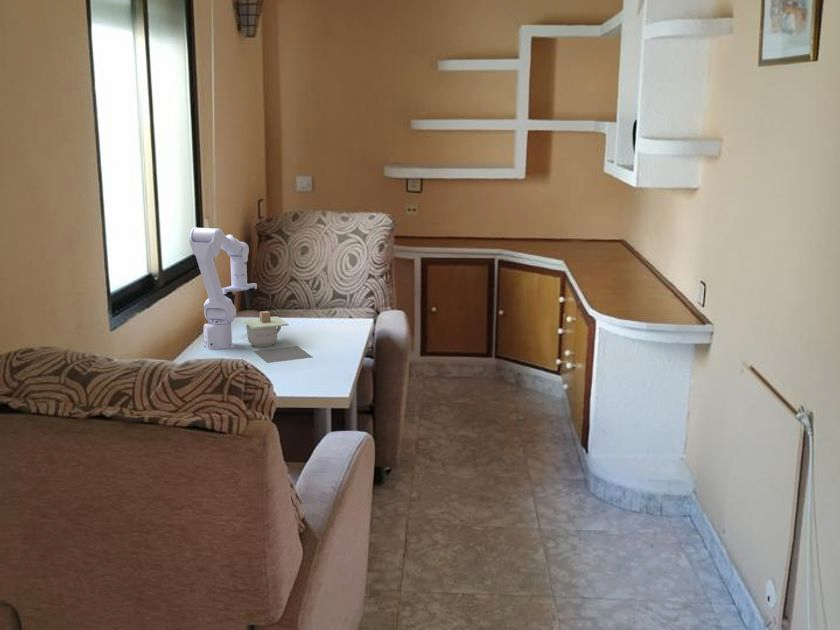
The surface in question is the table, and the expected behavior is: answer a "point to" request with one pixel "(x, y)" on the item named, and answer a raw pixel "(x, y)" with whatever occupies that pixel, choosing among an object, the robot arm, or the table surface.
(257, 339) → the teacup
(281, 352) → the mat
